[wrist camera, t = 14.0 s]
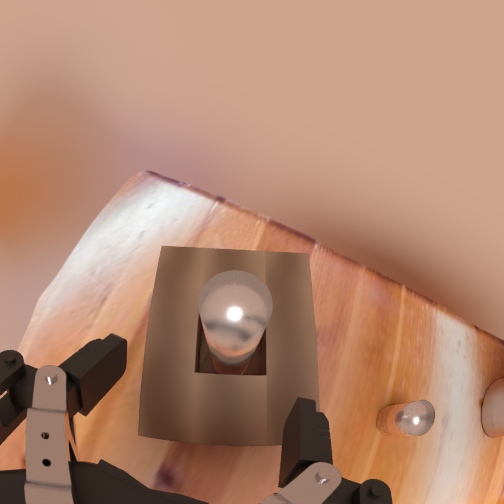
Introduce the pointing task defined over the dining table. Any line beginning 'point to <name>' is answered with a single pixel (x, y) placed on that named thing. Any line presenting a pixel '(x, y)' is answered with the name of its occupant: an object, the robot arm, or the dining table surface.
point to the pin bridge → (221, 385)
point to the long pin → (234, 318)
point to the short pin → (406, 419)
